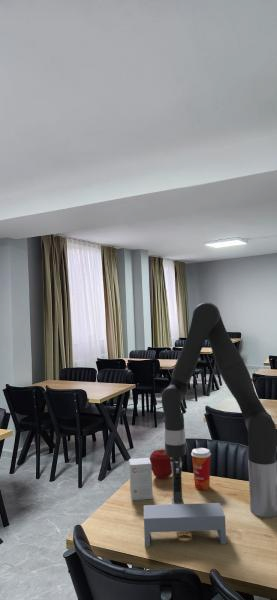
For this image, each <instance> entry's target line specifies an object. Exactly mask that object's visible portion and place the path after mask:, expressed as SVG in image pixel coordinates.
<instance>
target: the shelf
mask: <svg viewBox="0 0 277 600" xmlns="http://www.w3.org/2000/svg"><path fill="white" fill-rule="evenodd" d="M143 525H144V526H143V531H144V533H143V534H144V536H143V537H144V547H150V546H151V544H150V543H151V538H150V537H151V536H150V535H151V534H150V533H169V532H171V533H173V532H175V533H176V532H179V531H189V532H202V531H216V533H217V536H218V538H219V542H220V544H221V545H227V531H226V530H227V529H226V528H227V526H226V515H225V513H224V510H223V508H222V505H221V503H220V502H210V503H207V502H205V503H203V502H202V503H184V504H172V503H171V504H148V505H143Z"/></svg>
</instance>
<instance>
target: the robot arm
mask: <svg viewBox="0 0 277 600" xmlns="http://www.w3.org/2000/svg"><path fill="white" fill-rule="evenodd" d="M206 340H208V342H209V345H210V349H211V351H212V356H213V359H214V361H215V364H216V368H217V370H218V372H219V374H220V375H221V378H222V380H223V382H224V383H225V385H226V388H227V389H228V390H229V392H230V393H231V395H232V397H233V398H234V399H235V400H236V403H237V404H238V407H239V409H240V412H241V415H242V417H243V420H244V423H245V427H246V430H247V439H248V440H247V442H248V445H247V447H248V448H247V449H248V450H247V463H248V483H249V506H250V507H249V508H250V509H249V510H250V512H251V513H252V514H254V515H255V516H257V517H259V518H260V517H261V518H274V517H277V426H276V424H275V421H274V420H273V419H272V417H271V415H270V414H269V413H268V412H267V410H266V408H265V407H264V405H263V404H262V402H261V400H260V398H259V396H258V395H257V392H256V390H255V385H254V384H253V380H252V378H251V375H250V372H249V369H248V368H247V365H246V364H245V361H244V359H243V357H242V355H241V354H240V352H239V350H238V349H237V347H236V345H235V343H234V342H233V340H232V339H231V337H230V336H229V334H228V331H227V329H226V327H225V324H224V322H223V318H222V315H221V313H220V310H219V308H218V306H216V305H215V304H214V303H211V302H202V303H199V304H197V305H196V306H195V307H194V308H193V312H192V317H191V323H190V326H189V330H188V333H187V336H186V340H185V341H184V344H183V346H182V348H181V351H180V353H179V355H178V357H177V360H176V362H175V364H174V367H173V369H172V372H171V375H172V378H171V380H170V382H169V385H168V386H167V387H166V388H164V389H163V390H162V394H161V406H162V410H163V414H164V415H163V416H164V450H165V454H166V455H167V456H169V457H171V458H170V463H171V470H172V474H173V478H174V479H172V482H173V481H174V491H175V492H180V491H181V488H180V482H181V480H182V473H183V472H182V466H183V461H182V458H181V457H184V456H185V455H186V454H187V444H186V442H187V441H186V431H185V417H184V413H183V412H182V409H181V407H182V406H181V402H182V401H183V400H184V398H185V397H186V394H187V391H188V388H189V384H190V380H191V379H192V377H193V374H194V372H195V369H196V367H197V365H198V362H199V358H200V355H201V353H202V350H203V347H204V344H205V342H206ZM172 474H171V475H172ZM176 477H179V478H176Z"/></svg>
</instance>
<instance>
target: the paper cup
mask: <svg viewBox="0 0 277 600" xmlns="http://www.w3.org/2000/svg"><path fill="white" fill-rule="evenodd" d="M190 455H191V459H192V469H193V479H194V481H193V482H194V487H195V489H197V490H199V491H200V490H201V491H206V490H209V489H210V482H211V481H210V480H211V479H210V478H211V471H210V469H211V455H212V453H211V452H210V449H208V448H205V447H198V448H193V449H192V450H191V454H190Z"/></svg>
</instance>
